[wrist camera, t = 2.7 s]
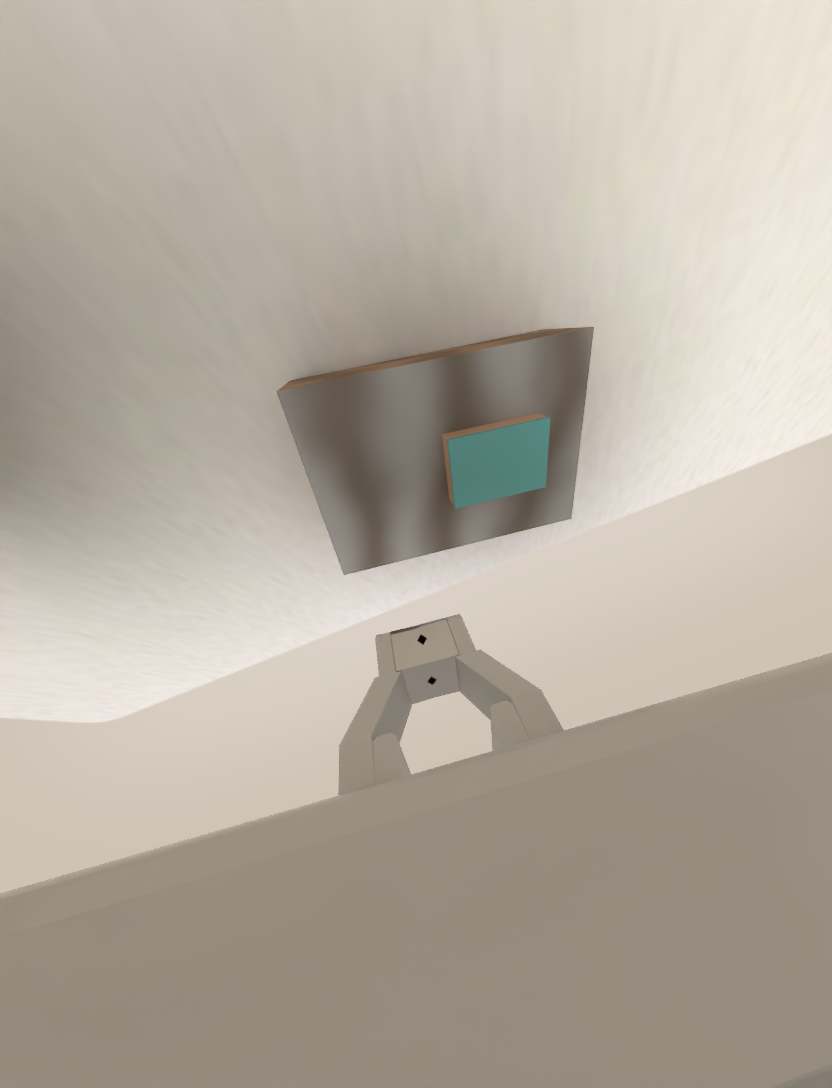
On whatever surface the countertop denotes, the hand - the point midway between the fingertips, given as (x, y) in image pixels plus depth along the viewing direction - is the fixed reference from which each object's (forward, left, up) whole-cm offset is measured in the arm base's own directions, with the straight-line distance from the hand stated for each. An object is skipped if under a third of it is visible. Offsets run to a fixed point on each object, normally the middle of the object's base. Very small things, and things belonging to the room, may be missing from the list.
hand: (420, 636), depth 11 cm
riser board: (+5, 0, -20) cm, 21 cm away
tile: (+8, 0, -14) cm, 17 cm away
